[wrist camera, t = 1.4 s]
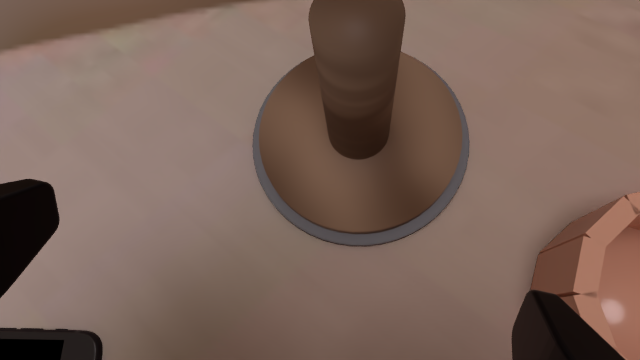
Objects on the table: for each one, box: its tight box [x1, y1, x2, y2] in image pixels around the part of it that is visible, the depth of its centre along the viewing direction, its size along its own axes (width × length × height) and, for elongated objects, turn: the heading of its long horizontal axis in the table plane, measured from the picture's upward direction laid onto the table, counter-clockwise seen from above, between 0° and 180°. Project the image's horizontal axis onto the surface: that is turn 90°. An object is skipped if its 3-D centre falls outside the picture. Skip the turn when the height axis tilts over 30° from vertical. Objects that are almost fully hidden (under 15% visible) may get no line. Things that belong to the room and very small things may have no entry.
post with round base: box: [259, 0, 462, 234], centre depth 18 cm, size 10×10×10 cm
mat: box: [253, 58, 469, 246], centre depth 23 cm, size 11×11×1 cm
